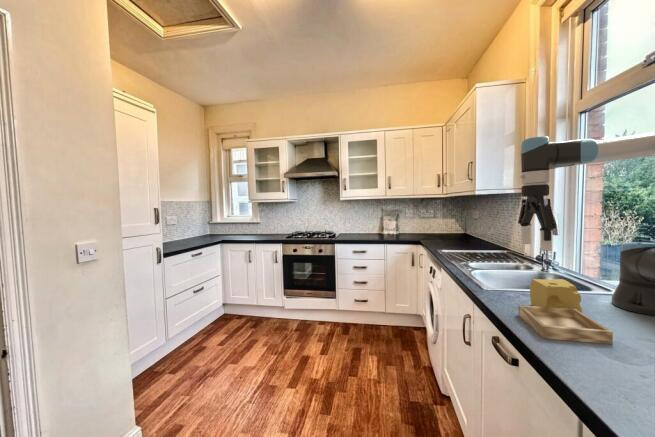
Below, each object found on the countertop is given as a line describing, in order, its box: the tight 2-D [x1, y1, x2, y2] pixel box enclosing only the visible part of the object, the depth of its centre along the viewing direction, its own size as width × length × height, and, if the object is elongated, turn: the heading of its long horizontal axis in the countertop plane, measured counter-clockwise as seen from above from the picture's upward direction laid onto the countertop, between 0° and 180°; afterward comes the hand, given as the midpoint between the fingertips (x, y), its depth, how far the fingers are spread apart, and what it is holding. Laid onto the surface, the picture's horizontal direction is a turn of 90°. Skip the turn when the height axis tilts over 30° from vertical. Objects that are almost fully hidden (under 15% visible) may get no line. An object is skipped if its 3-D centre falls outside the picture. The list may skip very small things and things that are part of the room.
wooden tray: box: [518, 305, 614, 345], centre depth 83 cm, size 16×16×3 cm
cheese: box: [529, 278, 583, 313], centre depth 96 cm, size 10×11×10 cm
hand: (535, 247), depth 94 cm, fingers open, 13 cm apart
